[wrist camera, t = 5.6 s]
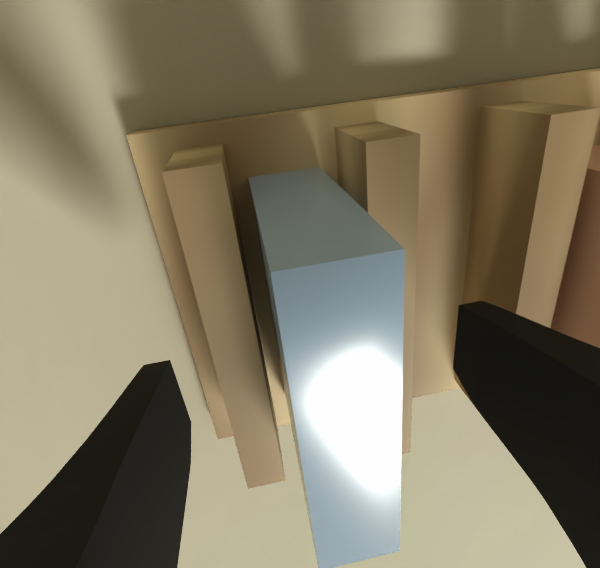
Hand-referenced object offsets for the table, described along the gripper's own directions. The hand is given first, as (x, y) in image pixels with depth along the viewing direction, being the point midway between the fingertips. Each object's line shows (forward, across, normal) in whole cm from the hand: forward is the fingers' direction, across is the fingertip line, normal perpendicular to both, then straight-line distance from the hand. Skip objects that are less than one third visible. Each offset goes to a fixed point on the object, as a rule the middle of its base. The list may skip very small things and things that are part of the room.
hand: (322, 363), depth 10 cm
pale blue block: (+3, 0, 0) cm, 3 cm away
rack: (+4, -4, 0) cm, 6 cm away
